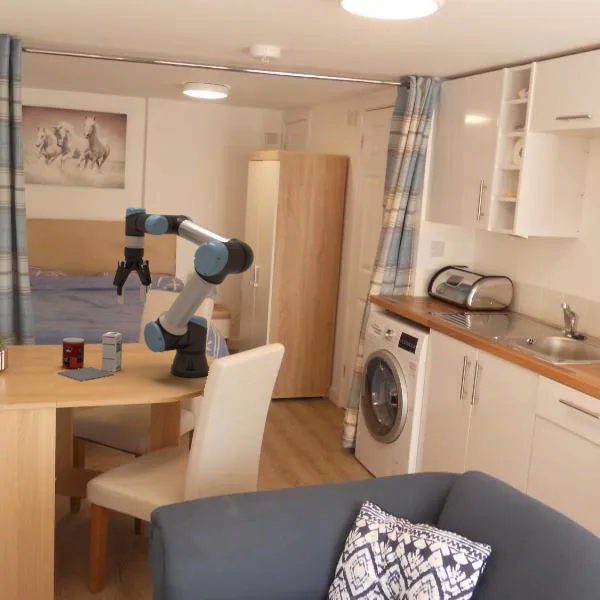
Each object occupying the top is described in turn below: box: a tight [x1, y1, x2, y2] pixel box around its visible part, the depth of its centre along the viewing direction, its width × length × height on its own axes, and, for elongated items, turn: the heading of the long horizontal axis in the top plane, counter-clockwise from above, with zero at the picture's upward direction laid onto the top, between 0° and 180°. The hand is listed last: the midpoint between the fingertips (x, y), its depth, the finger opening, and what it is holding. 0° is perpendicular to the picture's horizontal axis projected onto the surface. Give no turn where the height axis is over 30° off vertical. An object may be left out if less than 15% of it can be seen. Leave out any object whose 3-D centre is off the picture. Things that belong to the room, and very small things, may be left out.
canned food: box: [61, 337, 85, 370], centre depth 286 cm, size 8×8×11 cm
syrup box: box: [101, 331, 123, 373], centre depth 286 cm, size 6×6×14 cm
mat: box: [58, 366, 115, 382], centre depth 277 cm, size 14×15×1 cm
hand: (131, 302), depth 290 cm, fingers open, 10 cm apart
